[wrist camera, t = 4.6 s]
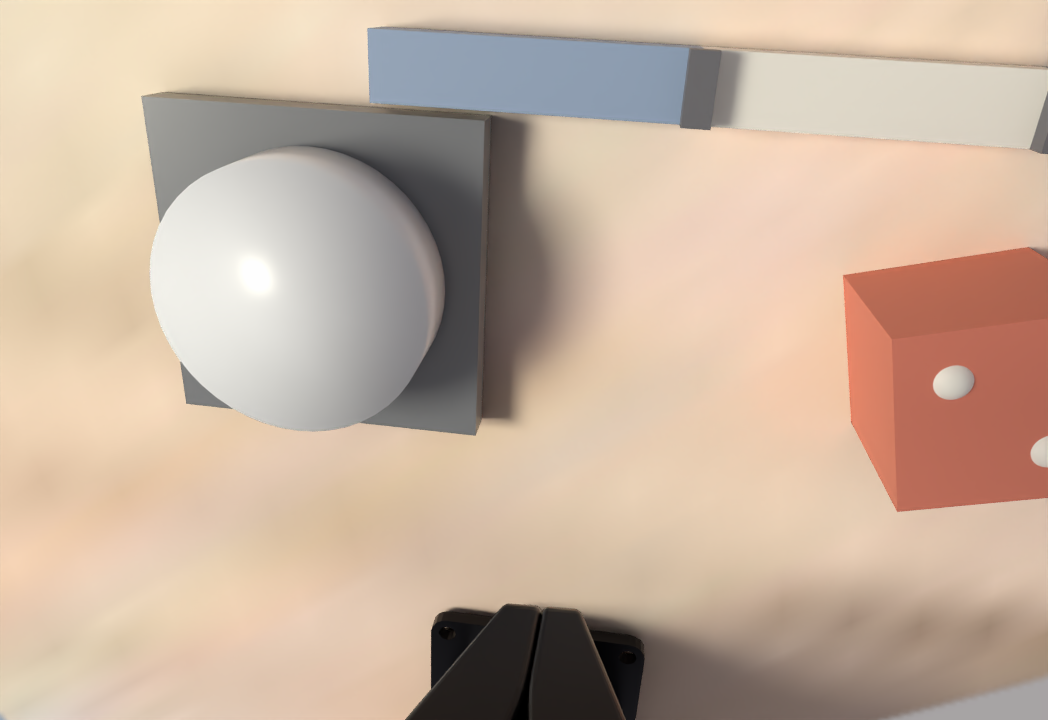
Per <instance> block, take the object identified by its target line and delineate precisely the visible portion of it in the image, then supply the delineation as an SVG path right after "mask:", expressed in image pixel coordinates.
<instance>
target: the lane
mask: <svg viewBox="0 0 1048 720" xmlns="http://www.w3.org/2000/svg"><path fill="white" fill-rule="evenodd" d="M368 62H369V95H370V103H381V104H395V105H409V106H423V107H437V108H452V109H466V110H480V111H494V112H508V113H523V114H537V115H551V116H565V117H579V118H594V119H608V120H622V121H636V122H650V123H665V124H679V125H680V127H681V128H688V129H702V130H710V129H711V127H721V128H736V129H750V130H764V131H778V132H792V133H807V134H821V135H835V136H849V137H863V138H878V139H892V140H906V141H920V142H934V143H949V144H963V145H977V146H991V147H1005V148H1020V149H1030V150H1033V151H1036V152H1038V153H1041V154H1048V67H1038V66H1021V65H1005V64H988V63H972V62H955V61H939V60H923V59H906V58H890V57H873V56H857V55H840V54H824V53H808V52H791V51H775V50H758V49H742V48H725V47H709V46H693V45H676V44H660V43H643V42H627V41H610V40H594V39H577V38H561V37H545V36H528V35H512V34H495V33H479V32H462V31H446V30H430V29H413V28H397V27H376V28H368Z"/></svg>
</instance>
